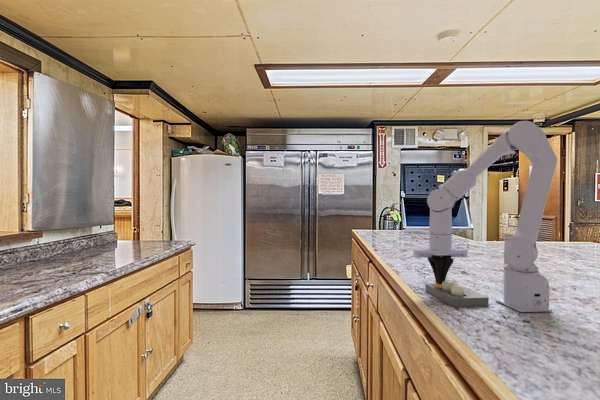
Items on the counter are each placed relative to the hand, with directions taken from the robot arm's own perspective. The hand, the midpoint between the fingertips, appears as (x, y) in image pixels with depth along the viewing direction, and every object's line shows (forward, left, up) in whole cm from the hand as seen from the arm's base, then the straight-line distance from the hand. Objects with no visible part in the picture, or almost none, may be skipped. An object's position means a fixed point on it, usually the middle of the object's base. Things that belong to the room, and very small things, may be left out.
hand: (439, 283), depth 102 cm
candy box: (+13, -32, -3) cm, 35 cm away
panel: (-5, -2, -3) cm, 6 cm away
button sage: (-4, 0, -1) cm, 5 cm away
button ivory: (-9, 0, -1) cm, 9 cm away
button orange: (0, 0, -2) cm, 2 cm away
